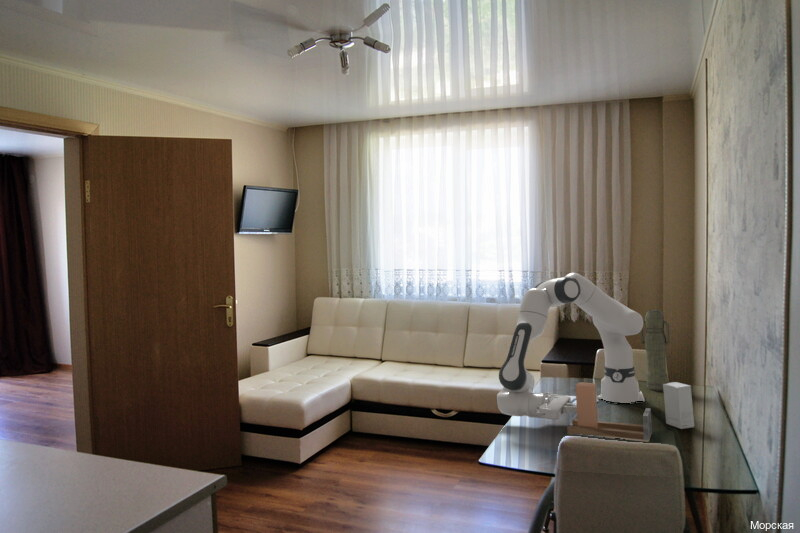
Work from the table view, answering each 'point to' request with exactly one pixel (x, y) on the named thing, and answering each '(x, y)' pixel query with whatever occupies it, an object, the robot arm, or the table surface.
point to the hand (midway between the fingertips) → (578, 408)
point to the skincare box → (678, 405)
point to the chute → (617, 429)
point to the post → (586, 405)
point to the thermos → (655, 349)
